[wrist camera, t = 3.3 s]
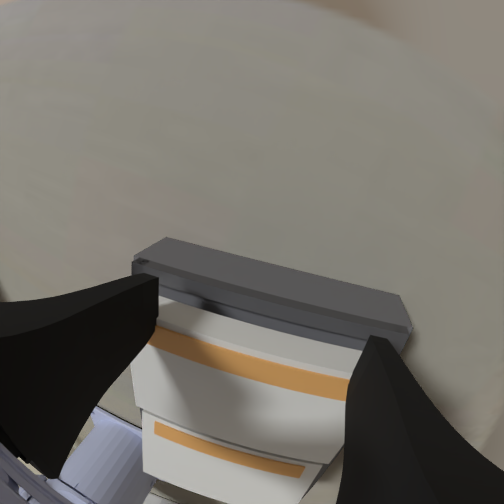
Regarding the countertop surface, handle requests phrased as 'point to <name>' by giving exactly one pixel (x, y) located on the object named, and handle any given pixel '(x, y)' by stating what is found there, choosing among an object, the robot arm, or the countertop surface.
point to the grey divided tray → (274, 297)
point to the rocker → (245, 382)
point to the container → (157, 500)
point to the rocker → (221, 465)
